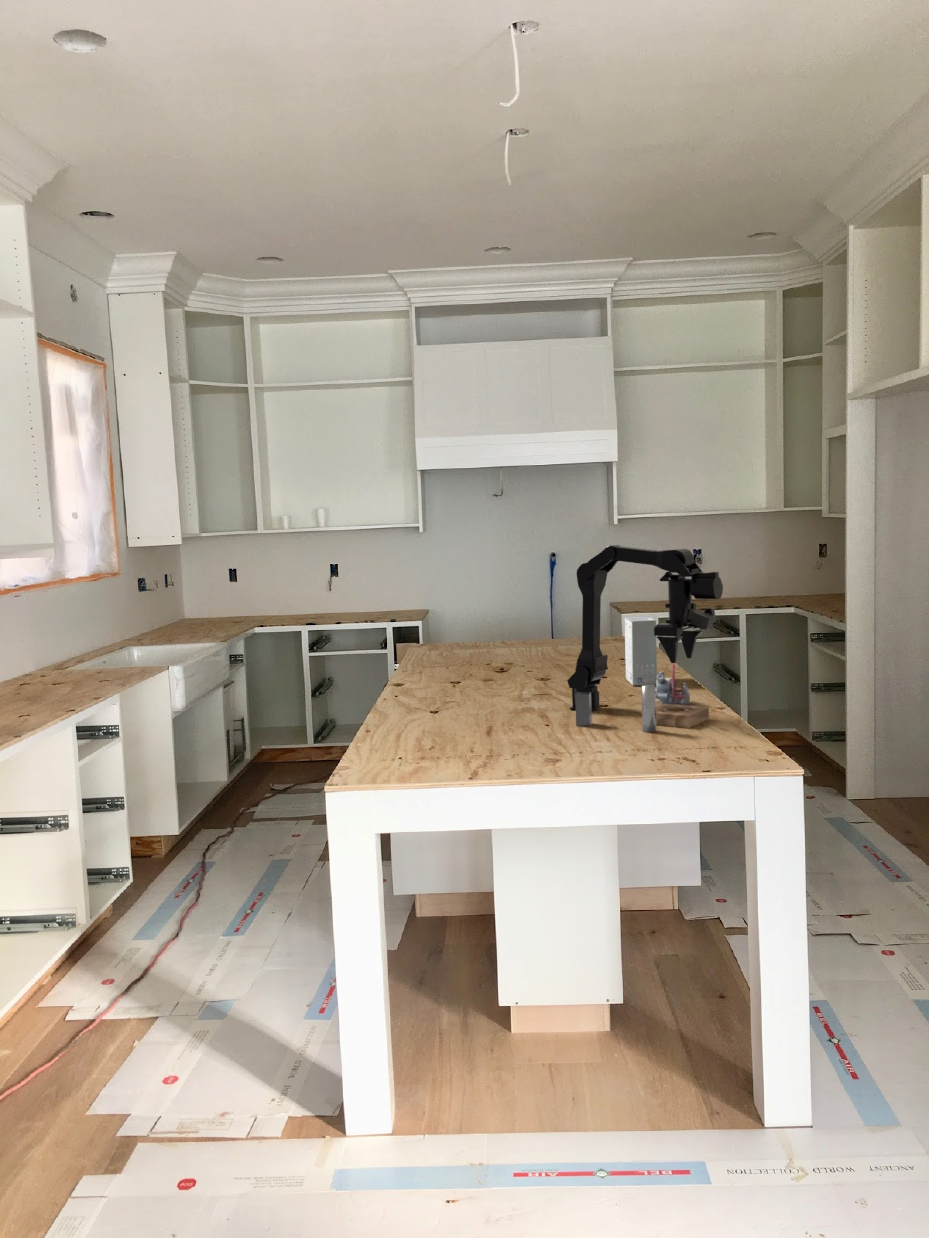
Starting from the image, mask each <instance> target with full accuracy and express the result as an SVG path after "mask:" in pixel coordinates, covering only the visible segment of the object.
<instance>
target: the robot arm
mask: <svg viewBox="0 0 929 1238" xmlns="http://www.w3.org/2000/svg"><path fill="white" fill-rule="evenodd" d="M618 562H624V563H632V564H639V565H640V564H641V565H648V566H654V567H657V568H658V569H660V570H664V571H666V572H665V573H664V574H663V576H661V577H660V578H659V581H660V582H667V589H668V591H667V592H668V593H667V594H668V595H667V597H668V602H667V603H665V608H666V609H668V618H667V619H665V622H662V623H658V624H657V623H656V626H655V627H654V636H656V640H658V641H659V643H660V644H661V646H662V647H663V649H664V651H665V654H666V656H667V657H668V659H669V661H670V663H671V664H676V663H677V656H678V645H679V642H680V641H681V645H682V647H683V650H684V654H685V656H686V658H687V659H692V656H693V653H694V649H695V645H696V642H697V639H698V637H700V635H701V634H703V633H704V632H705V630H708V629H712V627H713V625H714V622H716V621H717V618H716V617H717V615H716V611H715V609H713V608H711V607H708V608H705V609H704V610H703V609H698V608H697V605H696V604H697V603H695V602H694V601H693V599H692V596H693V598H695V600H720V599H721V598H722V595H723V590H724V584H723V583H722V579H721V577H720V572H719V571H709V572H704V571H702V569H701V568H700V566H699V565H698V563H697V562H696V561H695V557H694V554H693V553H692V551H691V550H690V549H687V548H675V549H674V548H673V549H665V550H663V549H662V550H655V549H647V548H640V547H639V548H638V547H631V546H622V545H620V544H612V545H608V546H606V547H605V548H604V549H602V550H601V551H600V552H599V553H598V554H596V555H595V556H593V557H592V558H591V559H589V560H588V561H587V562H583V563H581V564H580V565H579V566H578V567H577V568H576V580H577V581H576V582H577V587H578V588H579V592H580V593H581V596H582V612H581V613H582V622H581V623H582V629H581V650H580V653H579V654H578V656H577V659H576V664H575V671H574V673H573V674H571V676H570V677H569V678H568V679H567V685H568V687H569V689H571V698H572V704H571V705H572V706H569V710H573V711H576V703H575V694H576V693H577V692H591V707H592V711H594V710H597V709H599V708H602V705H600V692H599V690H598V689H599V687H598V686H599V685H600V683H601V681H602V678H604V676H605V675H606V671H608V669H609V668H608V658H609V657H608V654H603V652H602V650H601V604H602V603H601V600H602V599H601V598H602V593H603V592H604V589H605V587H606V583H607V577H608V573H609V572H611V570H613V569H614V568H615V566H616V564H618ZM692 601H693V602H692Z"/></svg>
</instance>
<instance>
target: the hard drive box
mask: <svg viewBox="0 0 929 1238" xmlns="http://www.w3.org/2000/svg"><path fill="white" fill-rule="evenodd" d="M656 625H657V620H656V619H654V618H652V617H650V616H625V617H624V648H625V649H624V652H625V656H624V657H625V680H627V681H628V682H629V683H630V684H631V686H633V687H635V686H643V685H655V686H656V680H657V675H658V674H657V672H658V670H657V669H658V666H657V636H654V627H655V626H656Z"/></svg>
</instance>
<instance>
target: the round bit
mask: <svg viewBox="0 0 929 1238" xmlns="http://www.w3.org/2000/svg"><path fill="white" fill-rule="evenodd" d="M655 689H656V685H641V708H642V709H641V711H642V713H641V715H642V733H646V732H653V733H656V732H657V725H656V707H657V706H656V705H657V704H656V702H657V701H656V700H657V698H656V697H655V695H656V693H655Z"/></svg>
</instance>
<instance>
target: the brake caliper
mask: <svg viewBox="0 0 929 1238" xmlns="http://www.w3.org/2000/svg"><path fill="white" fill-rule="evenodd" d="M675 667H676V666H675V663H671V677H665V671H660V672H659V671H657V680H656V685H655V699H656V702H660V703H661V705H663V704H674V705H686V706H689V705H688V704H689V703H690V700H691V697H690V696H691V694H690V691H689V689H688V685H687V683H685V682H682V683H681V688H680V689H676V688H677V687H676V686H677V684H676V681H675V677H676V676H675V675H676V674H675Z"/></svg>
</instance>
